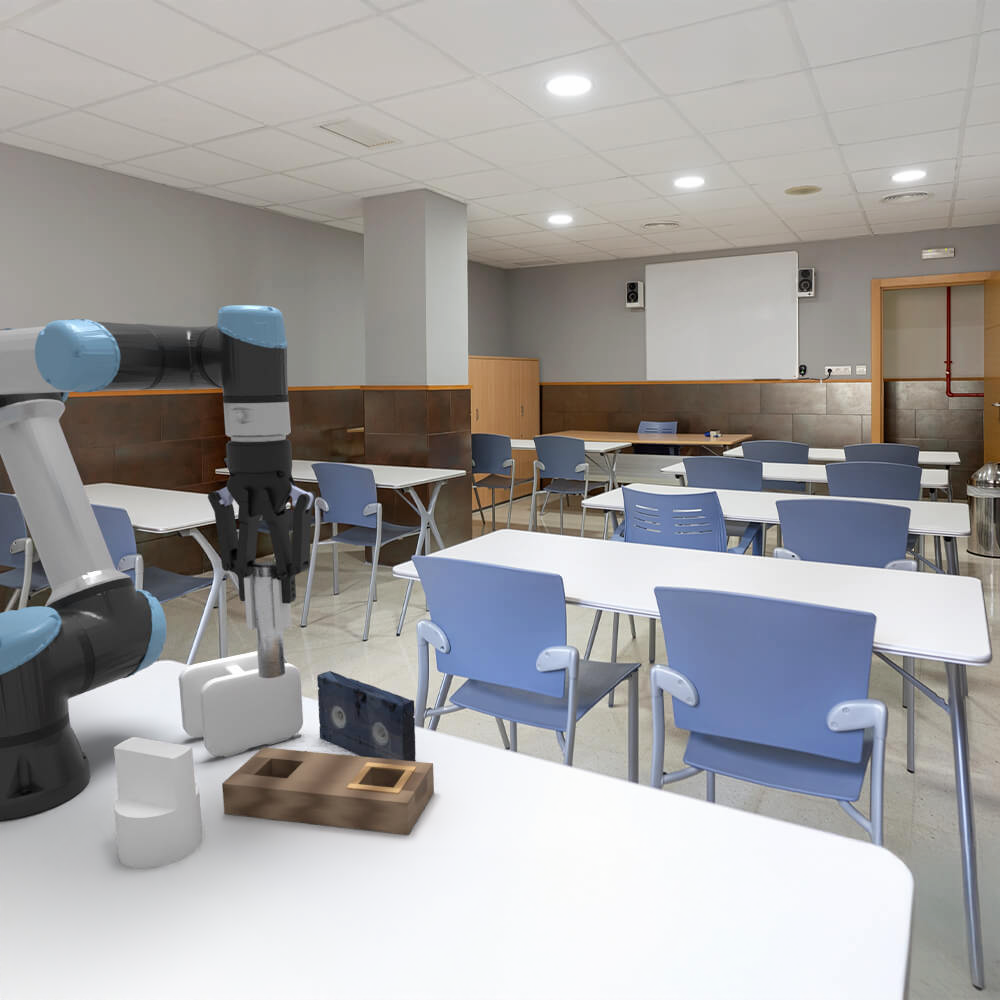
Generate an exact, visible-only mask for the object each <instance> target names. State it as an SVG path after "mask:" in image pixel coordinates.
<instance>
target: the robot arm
mask: <svg viewBox="0 0 1000 1000" xmlns="http://www.w3.org/2000/svg"><path fill="white" fill-rule="evenodd" d="M283 315H284V314H283V313H282V311H281V310H280V309H278V308H276V307H273V306H269V305H268V306H266V305H254V304H252V305H251V304H249V305H247V304H244V305H243V304H242V305H239V304H237V305H226V306H222V307H221V308H220V309H218V313H217V322H216V325H213V326H212V325H211V326H208V325H207V326H205V325H204V326H202V325H201V326H182V325H181V326H178V325H165V324H164V325H163V324H149V323H148V324H146V323H145V324H144V323H143V324H142V323H123V322H121V323H120V322H109V321H97V320H96V321H95V320H91V319H84V318H82V319H81V318H79V319H78V318H75V319H74V318H73V319H64V320H63V319H62V320H61V319H59V320H53V321H50V322H49V323H47V324H46V325H45V326H36V327H23V328H13V327H12V328H2V329H0V457H1V459H2V461H3V465H4V467H5V470H6V473H7V474H8V478H9V480H10V483H11V486H12V488H13V492H14V494H15V496H16V499H17V501H18V504H19V507H20V509H21V512H22V515H23V517H24V520H25V522H26V525H27V527H28V529H29V533H30V536H31V538H32V541H33V543H34V547H35V549H36V551H37V554H38V557H39V560H40V561H41V562H40V563H41V564H42V567H43V569H44V572H45V575H46V578H47V581H48V583H49V585H50V589H51V594H50V596H49V597H48V599H47V601H46V604H45V605H44V606H41V605H39V606H28V607H27V606H26V607H22V608H20V609H17V610H14V609H11V610H7V611H3V612H0V821H5V820H10V819H17V818H22V817H26V816H30V815H34V814H37V813H41V812H43V811H46V810H49V809H51V808H54V807H57V806H59V805H60V804H62V803H65V802H66V801H68V800H71V798H73V797H75V796H76V795H78V794H79V793H80V792H81V791H82V790H84V788H85V787H86V786H87V785H88V783H89V782H90V779H91V770H90V762H89V758H88V756H87V754H86V753H85V752H84V751H83V750H82V747H81V744H80V742H79V740H78V738H77V735H76V733H75V731H74V729H73V728H72V725H71V720H70V719H71V718H70V711H69V700H70V699H72V698H74V697H77V696H79V695H81V694H85V693H87V692H88V693H89V692H90V691H92V690H95V689H98V688H100V687H103V686H106V685H109V684H110V683H114V682H117V681H119V680H121V679H126V678H130V677H131V676H134V675H135V674H136V673H138V672H140V671H143V670H145V669H147V668H149V667H151V666H152V665H153V664H154V663H155V662H157V660H158V659H159V658H160V656H161V654H162V652H163V650H164V645H165V643H166V641H167V632H168V631H167V620H166V615H165V611H164V609H163V606H162V604H161V603H160V602H159V600H158V599H157V597H155V596H153V594H152V593H151V592H149V591H147V590H143V589H136V587H135V584H134V581H133V580H132V577H131V575H129V574H127V573H124V572H122V571H119V570H117V568H116V566H115V565H114V562H113V558H112V556H111V554H110V551H109V549H108V546H107V544H106V540H105V538H104V536H103V533H102V530H101V528H100V526H99V522H98V519H97V518H96V515H95V512H94V509H93V506H92V504H91V502H90V499H89V496H88V494H87V491H86V489H85V487H84V483H83V481H82V479H81V476H80V473H79V471H78V467H77V465H76V463H75V461H74V458H73V455H72V452H71V450H70V448H69V445H68V442H67V439H66V437H65V434H64V432H63V429H62V427H61V424H60V418H61V417H62V415H63V414H64V412H65V410H66V406H65V402H66V401H67V399H68V397H69V395H70V392H71V393H72V392H73V393H93V392H107V391H108V392H111V391H133V390H134V391H135V390H140V391H143V390H144V391H145V390H149V391H150V390H174V391H175V390H176V391H177V390H184V391H185V390H191V389H192V390H195V389H201V390H202V389H222V402H223V414H224V415H223V416H224V428H225V429H224V430H225V436H227V437H228V438H229V437H230V439H231V440H228V441H227V443H226V444H225V449H226V463H227V467H226V468H227V470H228V471H229V477H228V481H227V482H226V486H225V487H223V488H221V489H220V490H216V491H215V490H214V491H211V492H209V493H208V495H207V499H208V502H209V503H210V505H211V507H212V510H213V511H214V519H215V526H216V533H217V534H216V535H217V540H218V547H219V554H220V561H221V567H222V569H223V571H224V572H231V573H234V574H235V575H236V576H237V581H238V597H239V599H240V601H241V602H245V604H244V605H245V617H246V619H245V620H246V621H245V622H246V630H251V631H253V630H254V629H256V621H255V604H254V587H253V570H252V565H253V564H256V557H257V544H258V534H259V524H260V523H259V522H260V520H261V518H262V516H263V517H264V521H265V524H266V525H267V526H268V530H269V537H270V540H271V541H270V542H271V545H272V550H273V555H274V560H275V561H274V562H276V566H277V571H278V575H277V576H275V577H276V578H274V579H273V596H274V614H275V631H283V632H284V630H285V629H287V628H289V627H290V626H292V611H291V603H293V602H294V601H296V598H297V592H296V591H297V589H296V587H297V586H296V576H297V575H299V574H301V573H303V572H305V571H307V570H308V569H309V568H310V566H311V563H310V562H311V539H312V538H311V536H312V535H311V534H312V533H311V530H312V527H311V526H312V509H313V507H314V505H315V502H316V499H317V494H316V493H315V491H312V490H311V491H305V490H304V489H302V488H299V487H298V486H297V484H296V481H295V480H294V479H295V478H293V475H292V474H293V473H292V469H293V455H292V453H293V449H292V441H290V439H288V438H286V437H287V436H289V434H291V433H292V432H291V414H290V402H289V401H290V400H289V399H290V398H289V391H288V390H289V389H288V387H289V385H288V384H289V382H288V341H287V335H286V326H285V319H284V316H283ZM291 498H292V502H291V506H293V513H292V540H291V536H290V535H291V534H290V530H289V525H288V517H289V515H288V511H287V504H288V503H289V501H290V499H291ZM234 501H235V503H236V504H237V505H238V513H237V515H238V516H237V521H238V523H239V526H238V527H239V529H237V522H236V515H235V509H234V505H233V502H234Z"/></svg>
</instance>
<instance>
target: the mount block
mask: <svg viewBox="0 0 1000 1000" xmlns="http://www.w3.org/2000/svg"><path fill="white" fill-rule="evenodd" d="M434 782H435V781H434V763H433V762H424V761H423V762H422V761H416V762H415V761H404V760H393V759H382V758H372V757H362V756H359V755H350V754H349V755H348V754H338V753H328V752H315V751H307V750H305V751H304V750H297V749H285V748H275V747H274V748H273V747H261V749H259V750H258V751H257V752H256V753H255V754H254V755H253V756H251V758H249V759H248V760H247V761H246V762H244V763H243V764H242V765H241V766H240V767H239V768H238V769H237V770H236V771H234V772H232V774H231V775H230V776H229V777H227V778H226V779H225V780H224V781H223V782H222V783H221V785H222V787H221V789H222V800H223V814H225V815H234V816H241V817H251V818H259V819H268V820H277V821H284V822H285V821H287V822H293V823H294V822H295V823H302V824H310V825H318V826H319V825H320V826H328V827H329V826H330V827H337V828H346V829H353V830H354V829H355V830H364V831H372V832H380V833H381V832H382V833H388V834H389V833H390V834H398V835H406V836H407V835H408V836H409V835H410V833H411V831H412V829H413V828H414V827H415V824H416V823H417V821H418V820H419V819H420V816H421V815H422V814H423V812H424V810H425V809H426V806H427V804H428V803H429V801H430V800H431V798H432V796H433V795H434V793H435V784H434Z"/></svg>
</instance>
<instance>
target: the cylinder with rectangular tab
mask: <svg viewBox="0 0 1000 1000" xmlns="http://www.w3.org/2000/svg"><path fill="white" fill-rule="evenodd" d="M113 753H114V754H113V755H114V765H115V773H116V774H115V775H116V785H117V786H116V787H117V794H118V795H117V796H118V797H117V798H116V799H115V801H114V804H113V810H114V811H113V812H114V822H115V823H114V824H115V832H116V840H117V841H116V842H117V855H118V858H119V861H120V862H121V863H122V864H123V865H125V866H128V867H131V868H137V869H153V868H159V867H163V866H167V865H171V864H174V863H176V862H178V861H180V860H182V859H185V858H186V857H187V856H189V855H191V854H192V853H194V852H195V851H196V850H197V848H199V847H200V845H201V844H202V841H203V825H202V810H201V799H200V797H201V796H200V787H199V785H198V784H197V783H196V779H195V766H194V765H195V764H194V753H193V747H192V746H189V745H183V744H176V743H171V742H166V741H159V740H155V739H154V740H153V739H148V738H142V737H136V736H132V737H130V738H128V739H125V740H124V741H121V742H120V743H119V744H117V745H116V746H114V747H113Z"/></svg>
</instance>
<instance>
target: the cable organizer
mask: <svg viewBox="0 0 1000 1000" xmlns="http://www.w3.org/2000/svg"><path fill="white" fill-rule="evenodd" d="M178 682H179V683H178V685H179V696H180V699H179V700H180V707H181V708H180V710H181V711H180V712H181V722H182V723H181V724H182V729H183V730H184V732H185V733H186V734H187V735H188V736H190V737H192V738H203V745H204V749H206V751H207V752H208V753H209V754H210V755H212V756H215V757H216V756H217V757H222V756H223V757H224V758H227V757H231V756H234V755H238V754H241V753H245V752H246V751H248V750H249V749H251V748H256V747H259V746H262V745H266V744H267V745H269V746H270V745H274V744H277V743H281V742H285V741H288V740H290V738H291V737H293V736H295V735H296V734H298V733H299V732H300V730H301V729H302V727H303V725H304V715H303V714H304V713H303V698H302V678H301V670H300V669H299V668H298V667H296V666H295V665H294V664H292V663H289V662H287V663H286V662H285V674H284V675H282V676H279V677H276V678H262V677H260V676H259V671H258V654H257V650H255V651H251V652H247V653H246V652H245V653H242V654H241V653H240V654H236V655H232V656H227V657H223V658H221V657H220V658H216V659H213V660H209V661H208V660H207V661H204V662H198V663H193V664H190V665H188V666H186V667H185V668H184V669H183V670H182V671H181V672H180V674H179V676H178Z"/></svg>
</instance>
